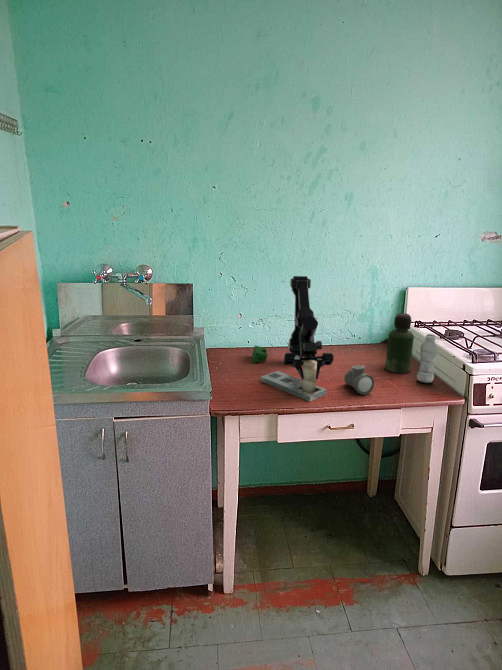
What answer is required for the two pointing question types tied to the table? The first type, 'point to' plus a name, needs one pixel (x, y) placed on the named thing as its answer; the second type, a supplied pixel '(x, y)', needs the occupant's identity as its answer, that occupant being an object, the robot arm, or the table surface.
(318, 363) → the robot arm
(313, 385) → the pin
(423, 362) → the plastic bottle
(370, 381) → the pipe fitting
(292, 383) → the grey slotted plate
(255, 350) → the clamp
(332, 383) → the table surface
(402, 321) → the green bottle
